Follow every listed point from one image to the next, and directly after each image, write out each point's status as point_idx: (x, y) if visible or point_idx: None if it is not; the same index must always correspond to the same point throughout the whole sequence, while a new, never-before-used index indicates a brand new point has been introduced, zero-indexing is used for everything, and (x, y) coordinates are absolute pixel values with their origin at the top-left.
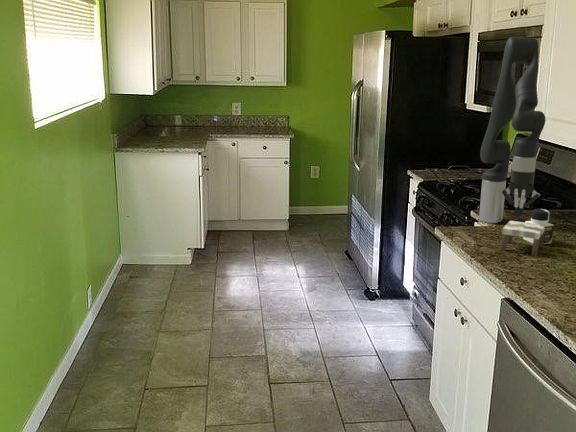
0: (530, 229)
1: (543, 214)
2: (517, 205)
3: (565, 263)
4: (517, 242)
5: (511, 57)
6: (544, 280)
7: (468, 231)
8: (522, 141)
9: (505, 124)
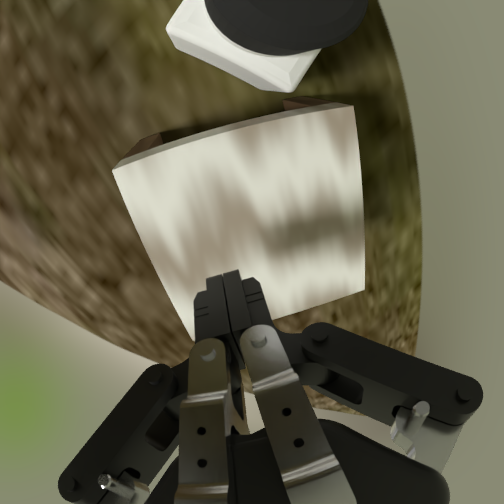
0: (312, 260)
1: (343, 38)
2: (238, 391)
3: (408, 232)
4: (179, 116)
5: None
6: None
7: None
8: None
9: None
